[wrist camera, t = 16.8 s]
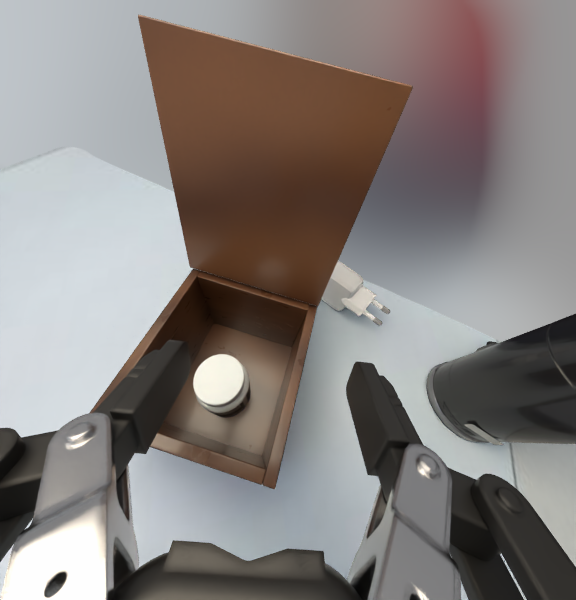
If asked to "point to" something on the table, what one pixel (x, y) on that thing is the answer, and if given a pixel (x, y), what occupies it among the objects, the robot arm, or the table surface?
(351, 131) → the lid
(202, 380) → the pill bottle
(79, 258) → the table surface
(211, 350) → the supply box
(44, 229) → the table surface
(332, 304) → the power adapter
